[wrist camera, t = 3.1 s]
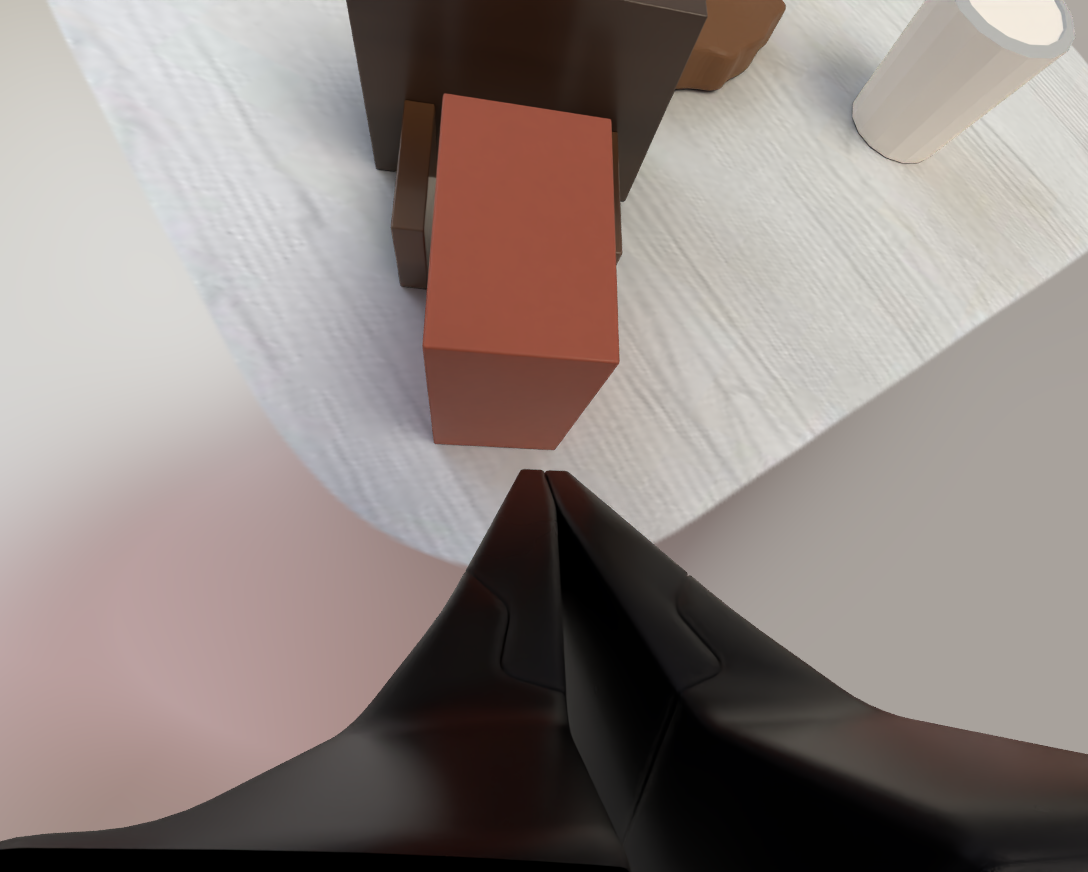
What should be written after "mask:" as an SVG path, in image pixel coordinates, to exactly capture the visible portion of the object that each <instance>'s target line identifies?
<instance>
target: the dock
mask: <svg viewBox="0 0 1088 872" xmlns="http://www.w3.org/2000/svg"><path fill="white" fill-rule="evenodd" d="M346 2H347V8H348V13H349V19H350V25H351V30H352V36H353V41H354V47H355V53H356V58H357V64H358V70H359V75H360V81H361V86H362V92H363V98H364V103H365V109H366V114H367V120H368V126H369V131H370V137H371V142H372V148H373V154H374V159H375V165H376V168H377V169H381V170H388V171H396V172H397V174H396V183H395V192H394V201H393V211H392V220H391V231H392V237H393V243H394V249H395V255H396V261H397V267H398V273H399V279H400V285H401V286H402V287H413V288H423V289H427V283H428V271H429V259H430V247H431V234H432V222H433V210H434V198H435V185H436V173H437V161H438V148H439V136H440V124H441V112H442V99H443V95H444V94H445V93H447V94H453V95H459V96H466V97H472V98H479V99H485V100H491V101H498V102H504V103H511V104H517V105H523V106H530V107H536V108H543V109H549V110H556V111H562V112H568V113H575V114H581V115H588V116H594V117H600V118H607V119H610V120H611V124H612V154H613V184H614V214H615V244H616V265H617V263H618V261H619V259H620V257H621V255H622V235H621V208H620V201H625V200H626V198H627V196H628V193H629V191H630V189H631V187H632V184H633V182H634V180H635V178H636V175H637V173H638V171H639V169H640V167H641V164H642V162H643V160H644V158H645V155H646V153H647V151H648V149H649V146H650V144H651V142H652V140H653V138H654V135H655V133H656V131H657V129H658V126H659V124H660V122H661V120H662V117H663V115H664V113H665V111H666V109H667V106H668V104H669V102H670V100H671V97H672V95H673V93H674V91H675V88H676V86H677V84H678V82H679V80H680V77H681V75H682V73H683V71H684V68H685V66H686V64H687V62H688V59H689V57H690V55H691V53H692V51H693V48H694V46H695V44H696V42H697V39H698V37H699V35H700V33H701V30H702V28H703V26H704V24H705V22H706V19H707V17H708V15H707V5H706V0H346Z"/></svg>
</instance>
